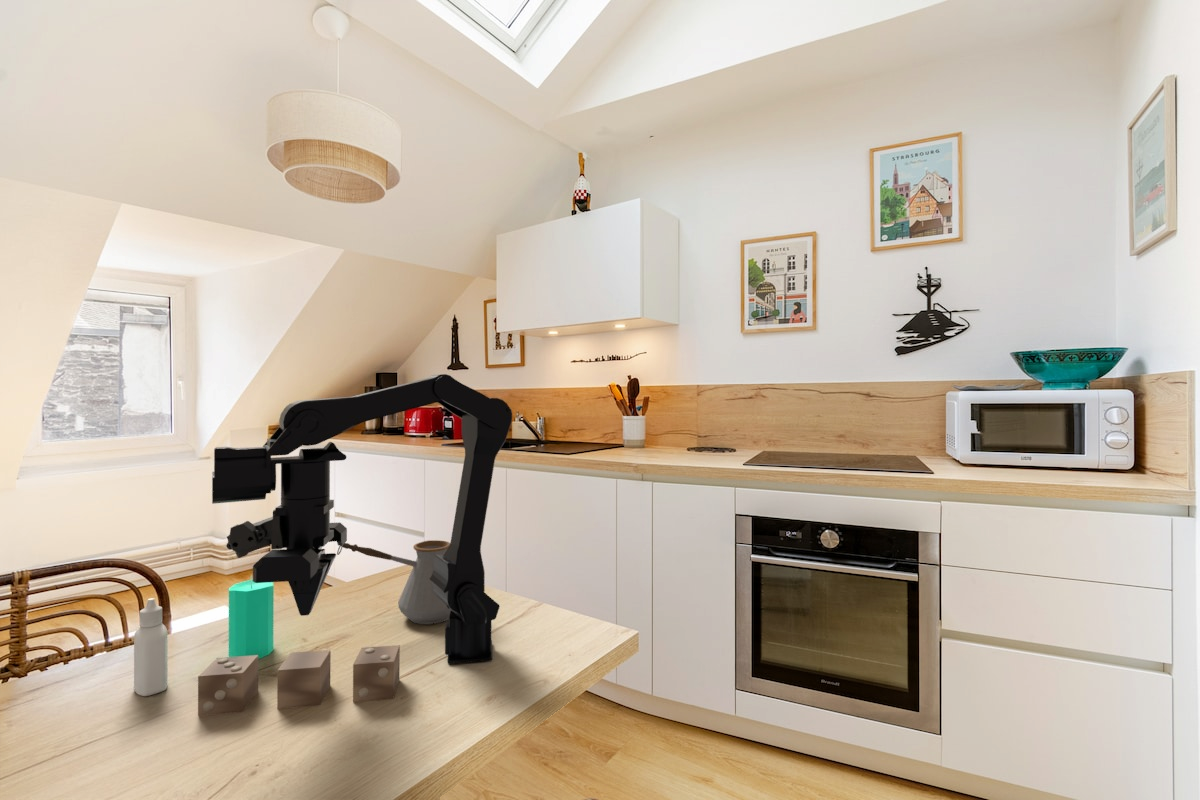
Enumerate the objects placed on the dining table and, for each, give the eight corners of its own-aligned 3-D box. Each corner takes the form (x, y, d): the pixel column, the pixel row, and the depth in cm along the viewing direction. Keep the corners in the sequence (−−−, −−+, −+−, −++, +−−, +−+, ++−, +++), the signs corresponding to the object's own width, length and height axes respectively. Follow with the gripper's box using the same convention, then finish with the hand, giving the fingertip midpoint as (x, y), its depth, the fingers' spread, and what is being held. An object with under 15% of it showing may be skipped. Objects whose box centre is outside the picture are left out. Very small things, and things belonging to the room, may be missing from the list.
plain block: (330, 686, 78) (330, 649, 78) (319, 705, 74) (320, 667, 74) (290, 689, 78) (290, 652, 77) (277, 709, 73) (277, 670, 73)
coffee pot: (454, 600, 111) (455, 523, 111) (472, 621, 101) (473, 536, 101) (333, 620, 101) (334, 535, 100) (339, 646, 91) (340, 551, 90)
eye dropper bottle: (177, 675, 81) (177, 590, 81) (162, 695, 75) (162, 604, 75) (140, 680, 79) (140, 593, 79) (121, 701, 74) (121, 608, 74)
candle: (252, 664, 84) (252, 582, 84) (217, 659, 86) (218, 579, 86) (282, 646, 90) (283, 570, 90) (250, 642, 92) (250, 567, 91)
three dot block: (258, 692, 77) (258, 653, 77) (242, 713, 72) (242, 672, 72) (216, 695, 76) (216, 656, 76) (197, 717, 71) (197, 675, 71)
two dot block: (399, 680, 80) (399, 644, 80) (393, 700, 75) (393, 660, 75) (361, 683, 79) (361, 646, 79) (352, 703, 74) (352, 663, 74)
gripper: (265, 486, 83) (265, 593, 83) (202, 512, 65) (202, 650, 65) (347, 484, 85) (347, 589, 85) (309, 509, 67) (308, 643, 67)
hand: (305, 614), depth 75 cm, fingers closed
